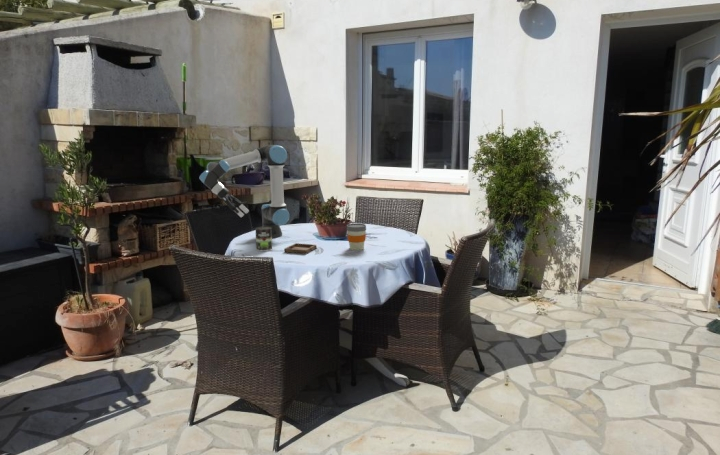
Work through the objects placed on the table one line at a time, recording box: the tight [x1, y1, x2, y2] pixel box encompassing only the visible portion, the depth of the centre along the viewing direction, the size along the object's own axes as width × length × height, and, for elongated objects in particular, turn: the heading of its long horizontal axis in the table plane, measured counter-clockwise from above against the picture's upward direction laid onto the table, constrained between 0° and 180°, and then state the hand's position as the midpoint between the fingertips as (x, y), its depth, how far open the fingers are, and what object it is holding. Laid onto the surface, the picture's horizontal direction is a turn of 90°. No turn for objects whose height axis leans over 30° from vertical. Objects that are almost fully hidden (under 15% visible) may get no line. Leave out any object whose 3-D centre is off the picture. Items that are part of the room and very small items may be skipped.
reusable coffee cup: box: [346, 222, 367, 251], centre depth 336 cm, size 12×13×15 cm
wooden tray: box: [283, 242, 318, 255], centre depth 334 cm, size 15×15×2 cm
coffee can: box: [254, 225, 273, 252], centre depth 337 cm, size 10×10×14 cm
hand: (245, 214), depth 336 cm, fingers open, 13 cm apart
